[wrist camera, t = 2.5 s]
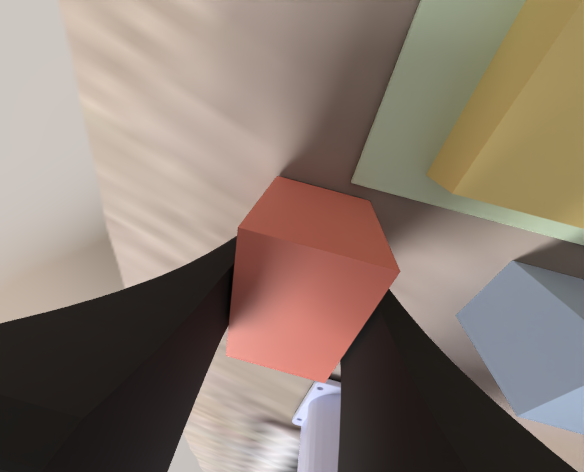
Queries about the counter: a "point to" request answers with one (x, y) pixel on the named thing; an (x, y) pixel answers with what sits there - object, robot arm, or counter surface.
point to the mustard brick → (525, 120)
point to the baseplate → (440, 107)
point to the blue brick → (533, 342)
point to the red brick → (306, 278)
